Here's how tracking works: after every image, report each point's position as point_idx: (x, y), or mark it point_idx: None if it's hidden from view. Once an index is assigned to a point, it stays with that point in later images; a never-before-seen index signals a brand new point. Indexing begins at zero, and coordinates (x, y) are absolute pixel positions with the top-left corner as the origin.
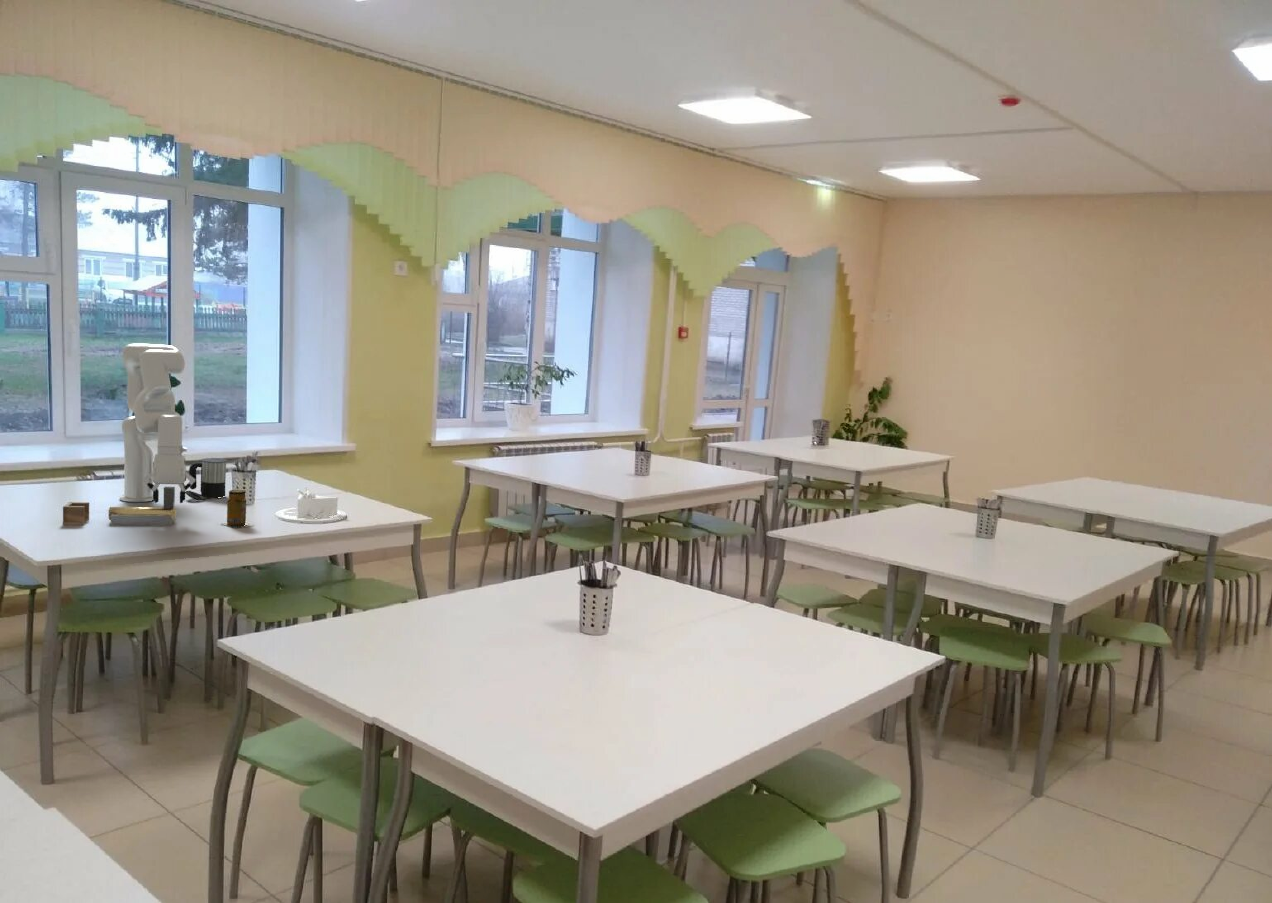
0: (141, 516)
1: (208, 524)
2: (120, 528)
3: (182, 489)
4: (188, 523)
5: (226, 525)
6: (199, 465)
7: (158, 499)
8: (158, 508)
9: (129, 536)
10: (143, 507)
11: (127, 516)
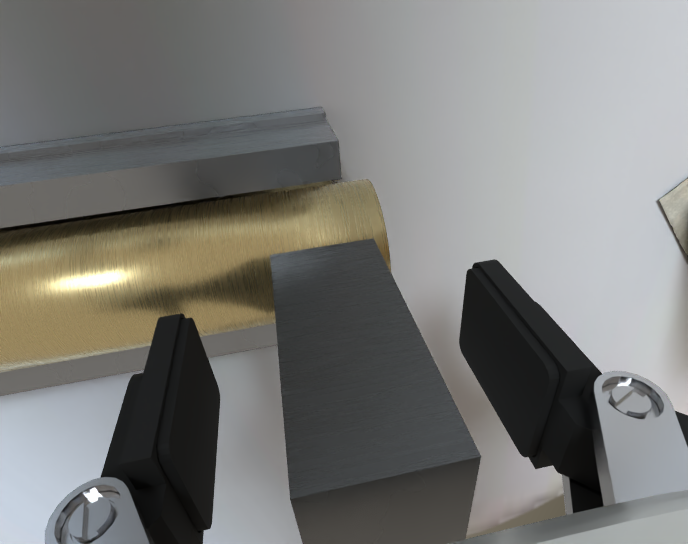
0: (124, 366)
1: (581, 210)
2: (63, 414)
3: (583, 482)
4: (451, 203)
5: (680, 230)
6: None
7: (191, 334)
8: (229, 322)
9: (216, 510)
10: (60, 338)
11: (6, 386)
